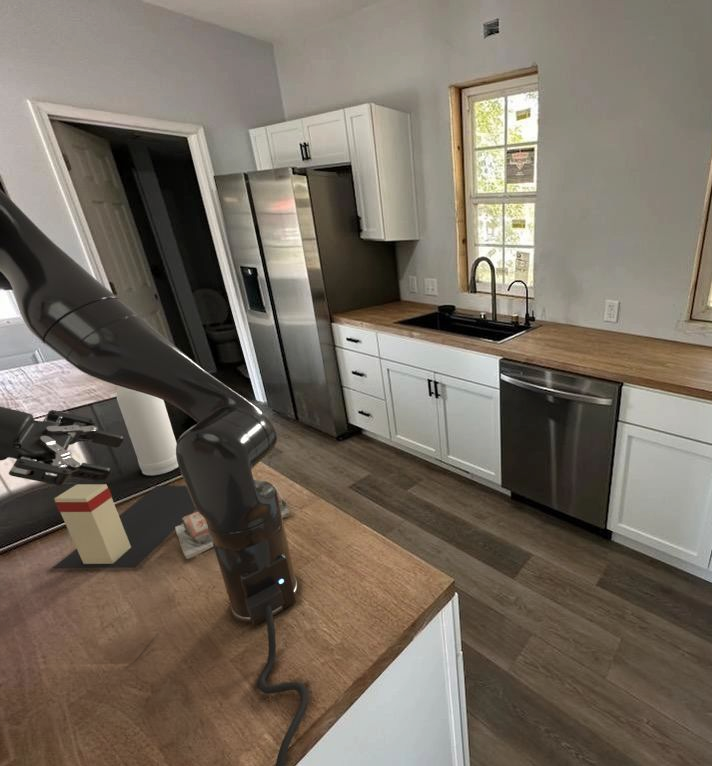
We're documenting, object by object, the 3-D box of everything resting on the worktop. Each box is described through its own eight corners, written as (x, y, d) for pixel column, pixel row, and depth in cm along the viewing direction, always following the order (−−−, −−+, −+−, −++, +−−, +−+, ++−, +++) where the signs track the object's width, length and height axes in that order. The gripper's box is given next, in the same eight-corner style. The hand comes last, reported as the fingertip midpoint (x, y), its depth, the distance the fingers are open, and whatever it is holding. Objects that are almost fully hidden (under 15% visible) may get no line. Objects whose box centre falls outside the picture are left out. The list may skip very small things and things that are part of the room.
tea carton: (113, 564, 73) (85, 498, 68) (82, 564, 72) (53, 498, 67) (132, 547, 77) (107, 484, 71) (103, 547, 76) (76, 484, 71)
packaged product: (271, 477, 91) (288, 497, 84) (275, 495, 93) (291, 516, 86) (169, 513, 79) (179, 540, 72) (176, 533, 81) (186, 561, 74)
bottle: (188, 456, 106) (155, 345, 95) (174, 473, 99) (136, 355, 88) (151, 460, 104) (113, 347, 93) (134, 478, 97) (91, 357, 86)
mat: (136, 568, 72) (135, 567, 72) (52, 569, 72) (52, 568, 72) (220, 487, 95) (220, 486, 95) (157, 487, 94) (157, 486, 94)
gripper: (-41, 439, 54) (115, 469, 65) (7, 383, 65) (135, 417, 76) (-65, 479, 56) (92, 503, 66) (-13, 418, 66) (115, 447, 77)
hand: (115, 457), depth 71 cm, fingers open, 8 cm apart
